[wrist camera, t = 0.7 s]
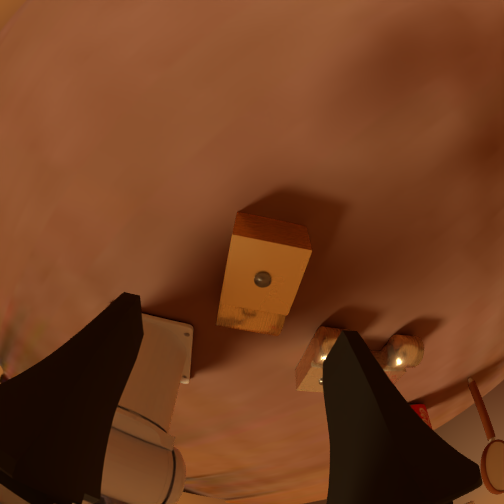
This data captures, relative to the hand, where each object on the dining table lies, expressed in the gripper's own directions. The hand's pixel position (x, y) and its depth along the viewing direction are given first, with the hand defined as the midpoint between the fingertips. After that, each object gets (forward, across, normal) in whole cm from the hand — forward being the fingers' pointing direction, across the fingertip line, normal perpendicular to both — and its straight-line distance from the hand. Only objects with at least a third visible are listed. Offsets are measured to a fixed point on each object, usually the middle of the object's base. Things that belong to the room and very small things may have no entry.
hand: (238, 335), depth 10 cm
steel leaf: (+9, -12, +11) cm, 19 cm away
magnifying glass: (+10, -35, +17) cm, 40 cm away
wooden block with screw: (+10, -1, +4) cm, 10 cm away
